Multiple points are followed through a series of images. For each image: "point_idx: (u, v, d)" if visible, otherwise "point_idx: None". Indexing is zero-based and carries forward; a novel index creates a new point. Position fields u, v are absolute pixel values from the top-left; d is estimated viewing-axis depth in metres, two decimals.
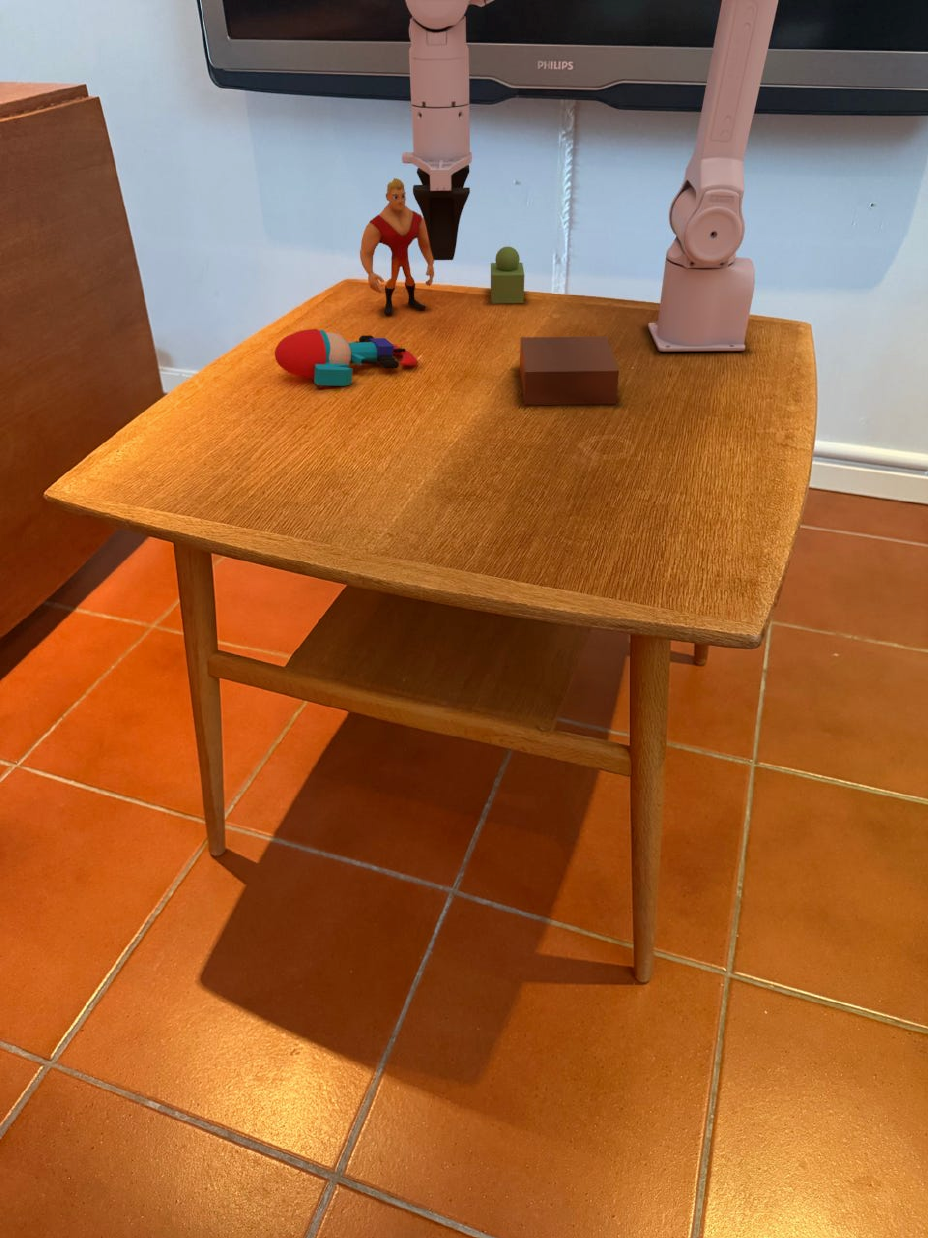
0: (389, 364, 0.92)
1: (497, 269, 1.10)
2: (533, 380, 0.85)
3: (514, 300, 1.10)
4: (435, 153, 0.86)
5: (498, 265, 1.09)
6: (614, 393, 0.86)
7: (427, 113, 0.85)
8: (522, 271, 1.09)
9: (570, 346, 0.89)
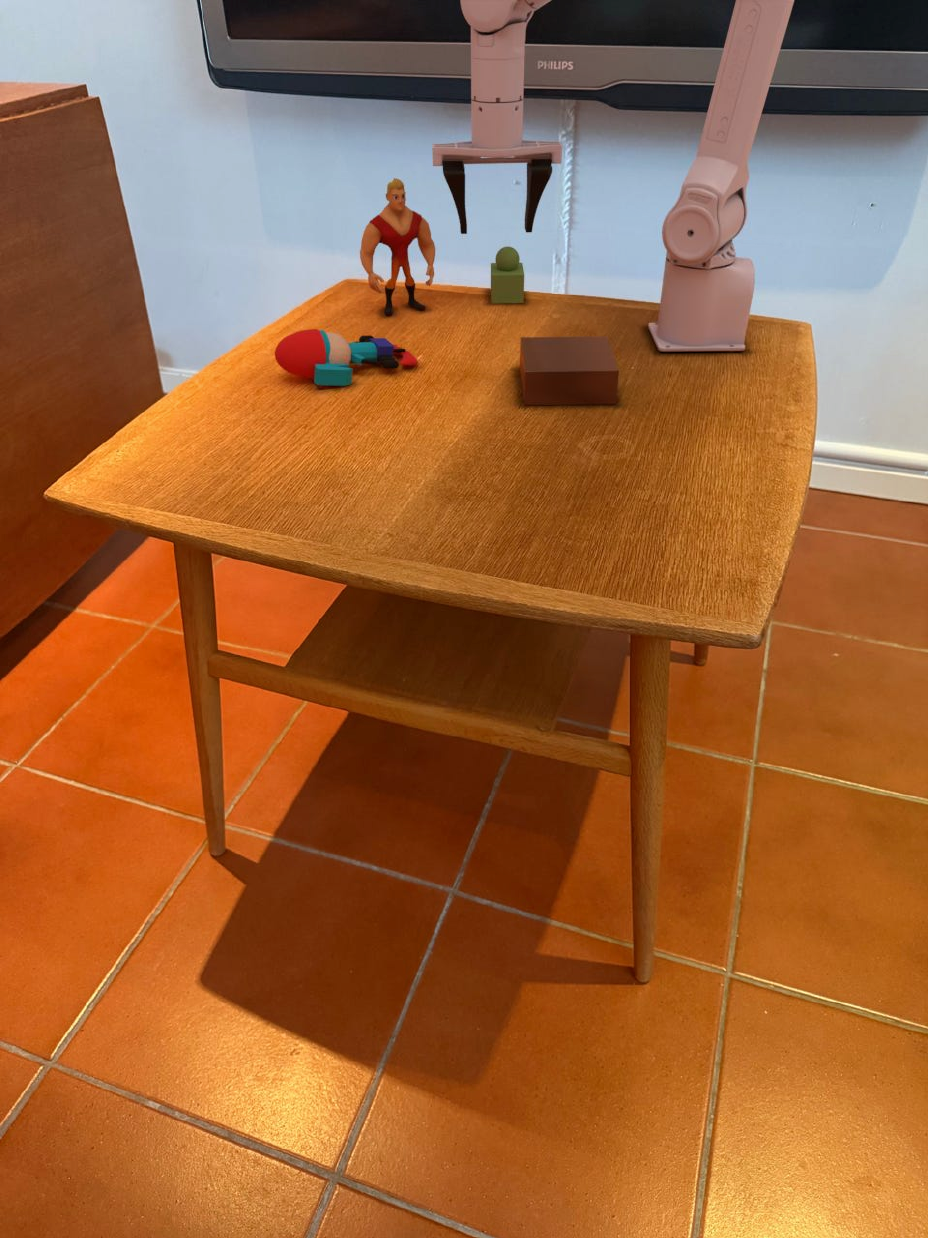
0: (389, 364, 0.92)
1: (497, 269, 1.10)
2: (533, 380, 0.85)
3: (514, 300, 1.10)
4: None
5: (498, 265, 1.09)
6: (614, 393, 0.86)
7: None
8: (522, 271, 1.09)
9: (570, 346, 0.89)
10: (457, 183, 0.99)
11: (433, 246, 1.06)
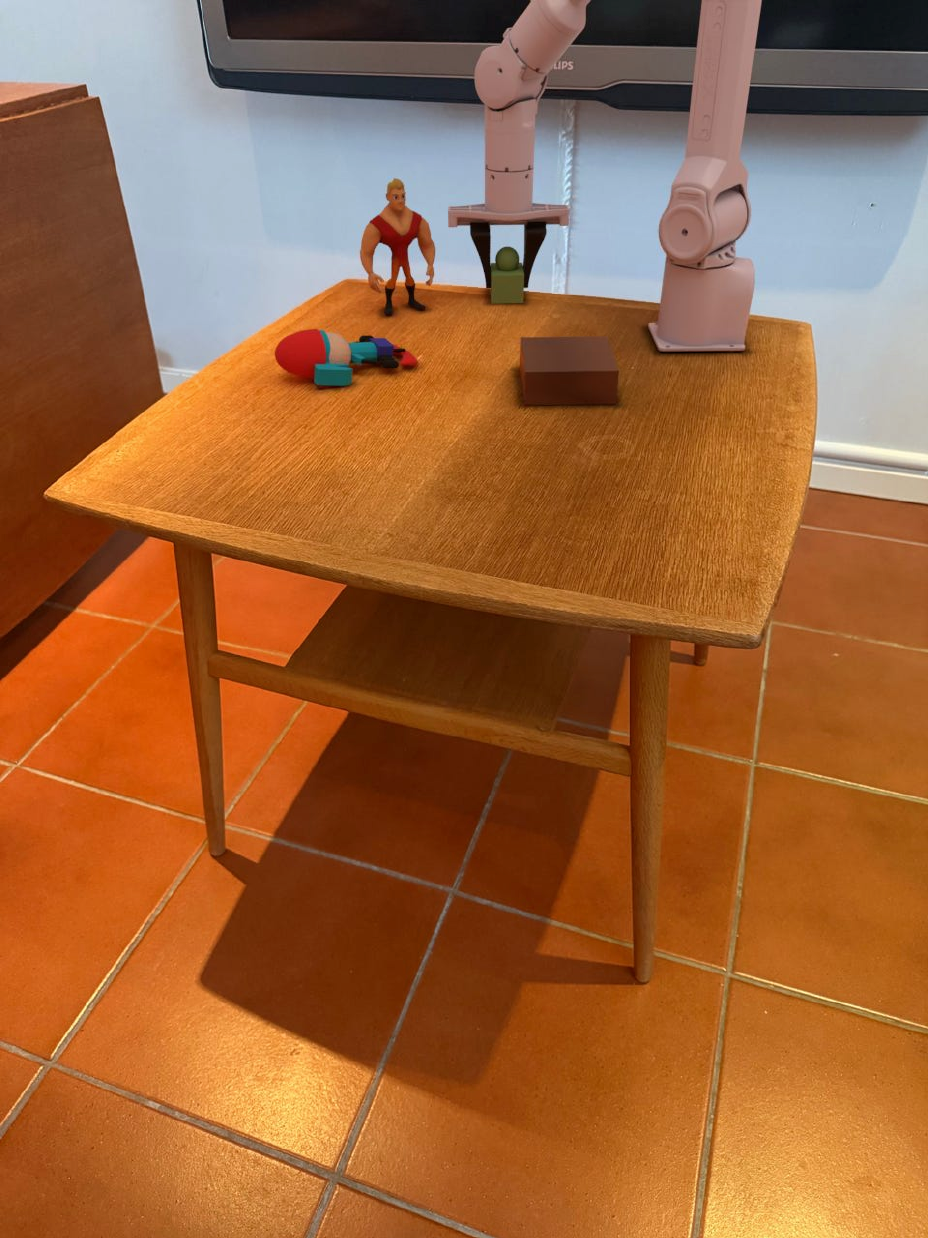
0: (389, 364, 0.92)
1: (497, 269, 1.10)
2: (533, 380, 0.85)
3: (514, 300, 1.10)
4: None
5: (498, 265, 1.09)
6: (614, 393, 0.86)
7: None
8: (522, 271, 1.09)
9: (570, 346, 0.89)
10: (483, 243, 1.06)
11: (433, 246, 1.06)
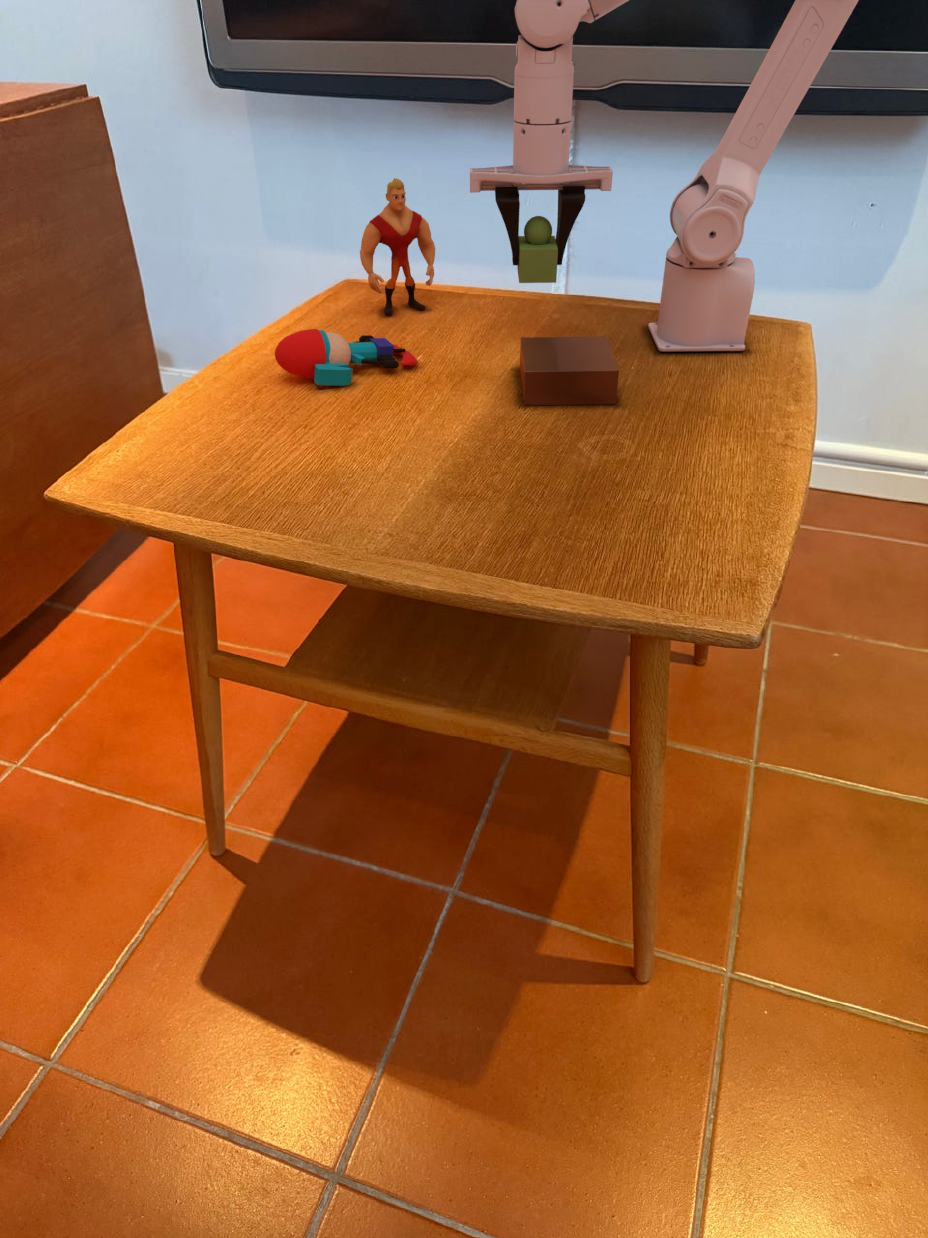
0: (389, 364, 0.92)
1: (526, 243, 0.94)
2: (533, 380, 0.85)
3: (545, 279, 0.94)
4: None
5: (527, 238, 0.93)
6: (614, 393, 0.86)
7: None
8: (555, 245, 0.93)
9: (570, 346, 0.89)
10: (511, 211, 0.90)
11: (433, 246, 1.06)
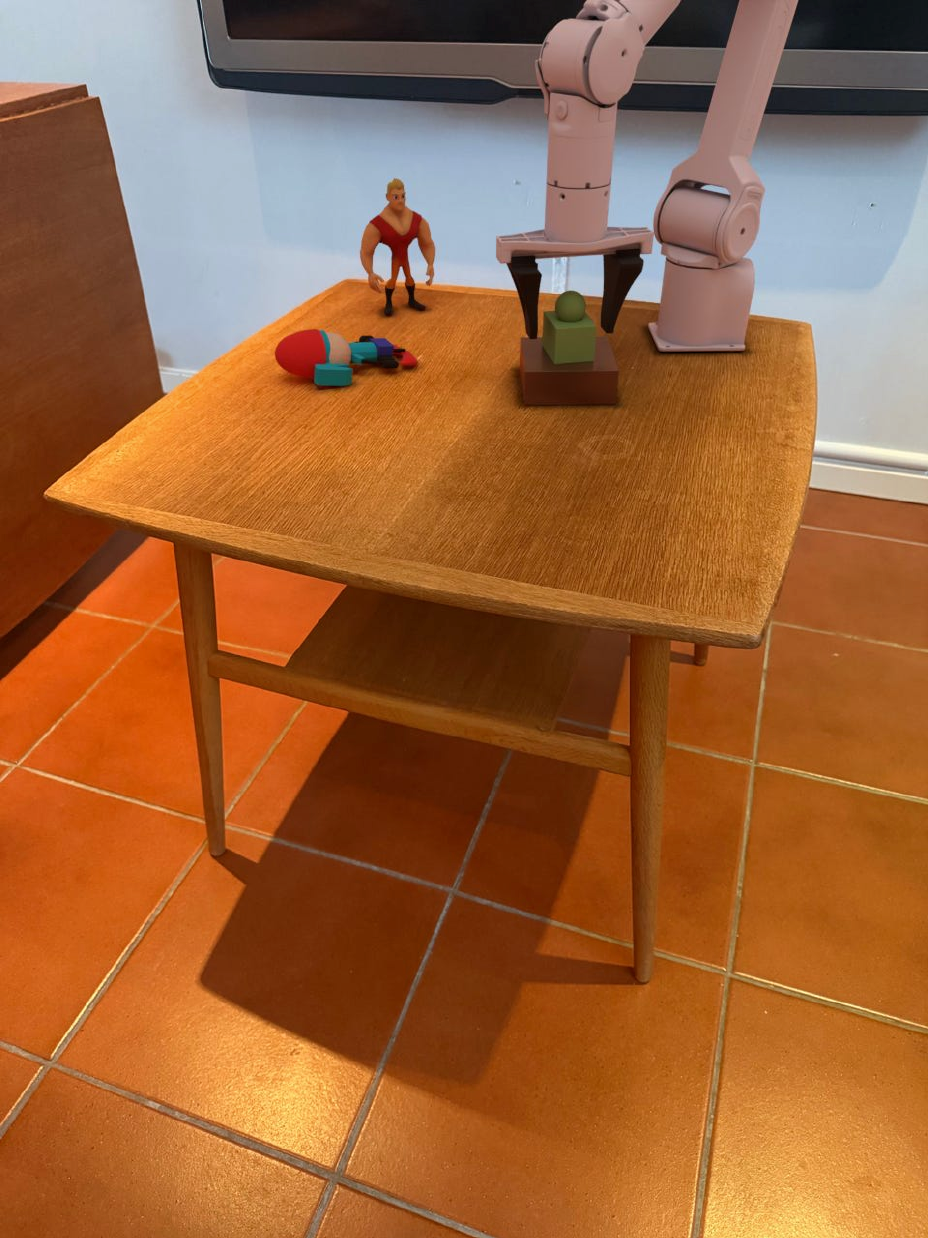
0: (389, 364, 0.92)
1: (558, 320, 0.85)
2: (533, 380, 0.85)
3: (582, 358, 0.86)
4: None
5: (560, 315, 0.85)
6: (614, 393, 0.86)
7: None
8: (591, 321, 0.85)
9: None
10: (531, 283, 0.81)
11: (433, 246, 1.06)
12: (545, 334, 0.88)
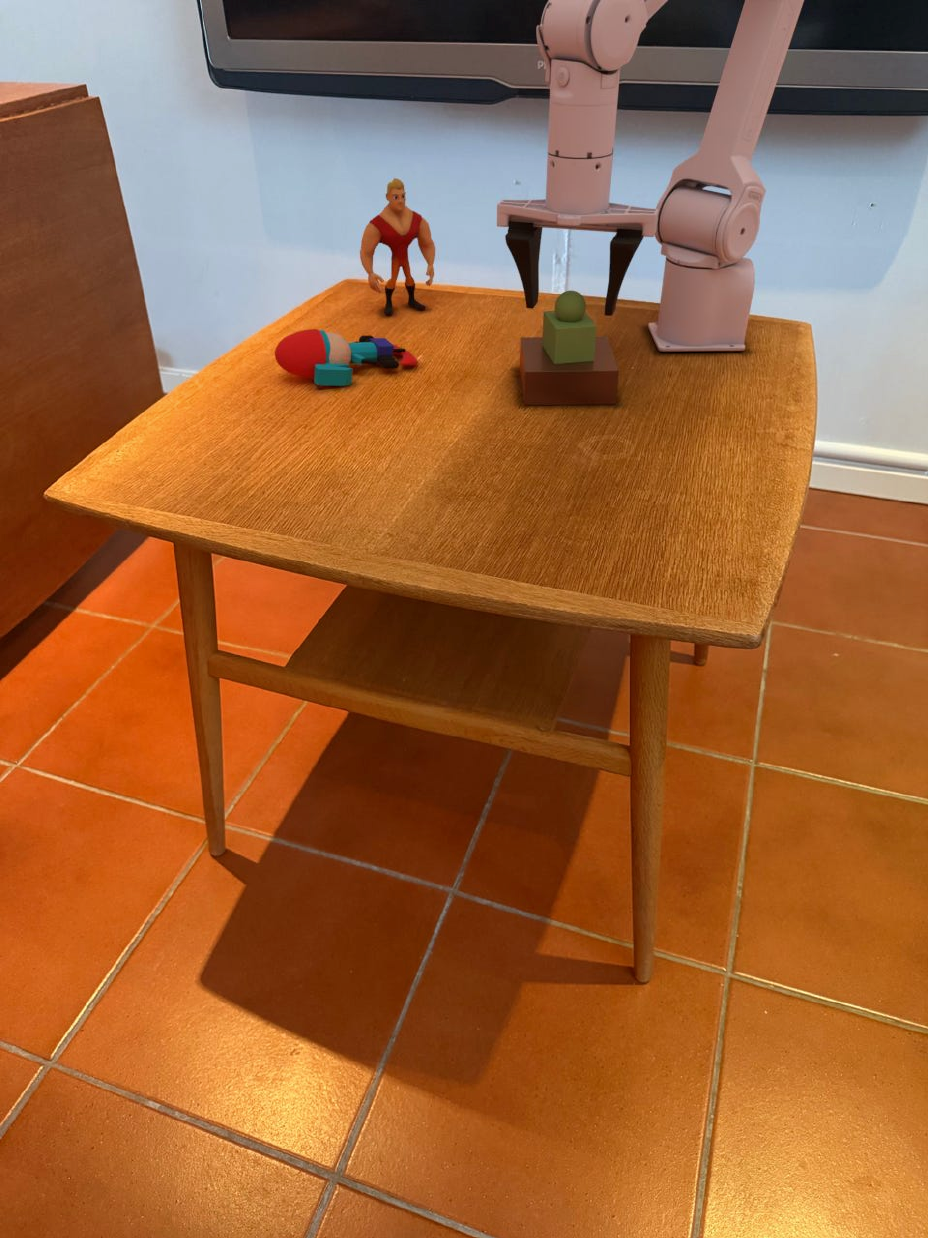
0: (389, 364, 0.92)
1: (558, 320, 0.85)
2: (533, 380, 0.85)
3: (582, 358, 0.86)
4: (607, 203, 0.78)
5: (560, 315, 0.85)
6: (614, 393, 0.86)
7: (606, 162, 0.76)
8: (591, 321, 0.85)
9: None
10: None
11: (433, 246, 1.06)
12: (545, 334, 0.88)
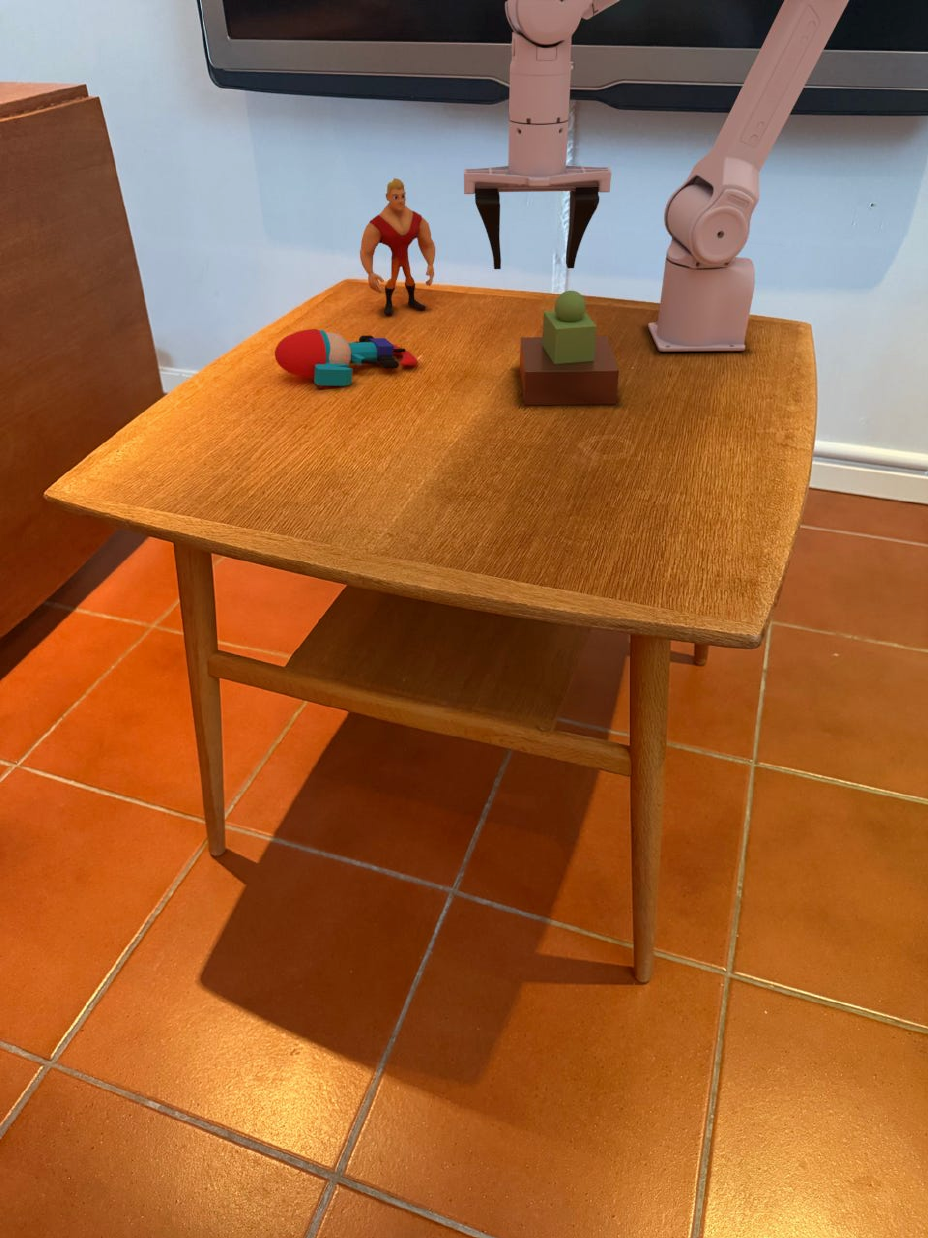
0: (389, 364, 0.92)
1: (558, 320, 0.85)
2: (533, 380, 0.85)
3: (582, 358, 0.86)
4: (566, 165, 0.86)
5: (560, 315, 0.85)
6: (614, 393, 0.86)
7: (566, 126, 0.84)
8: (591, 321, 0.85)
9: None
10: None
11: (433, 246, 1.06)
12: (545, 334, 0.88)
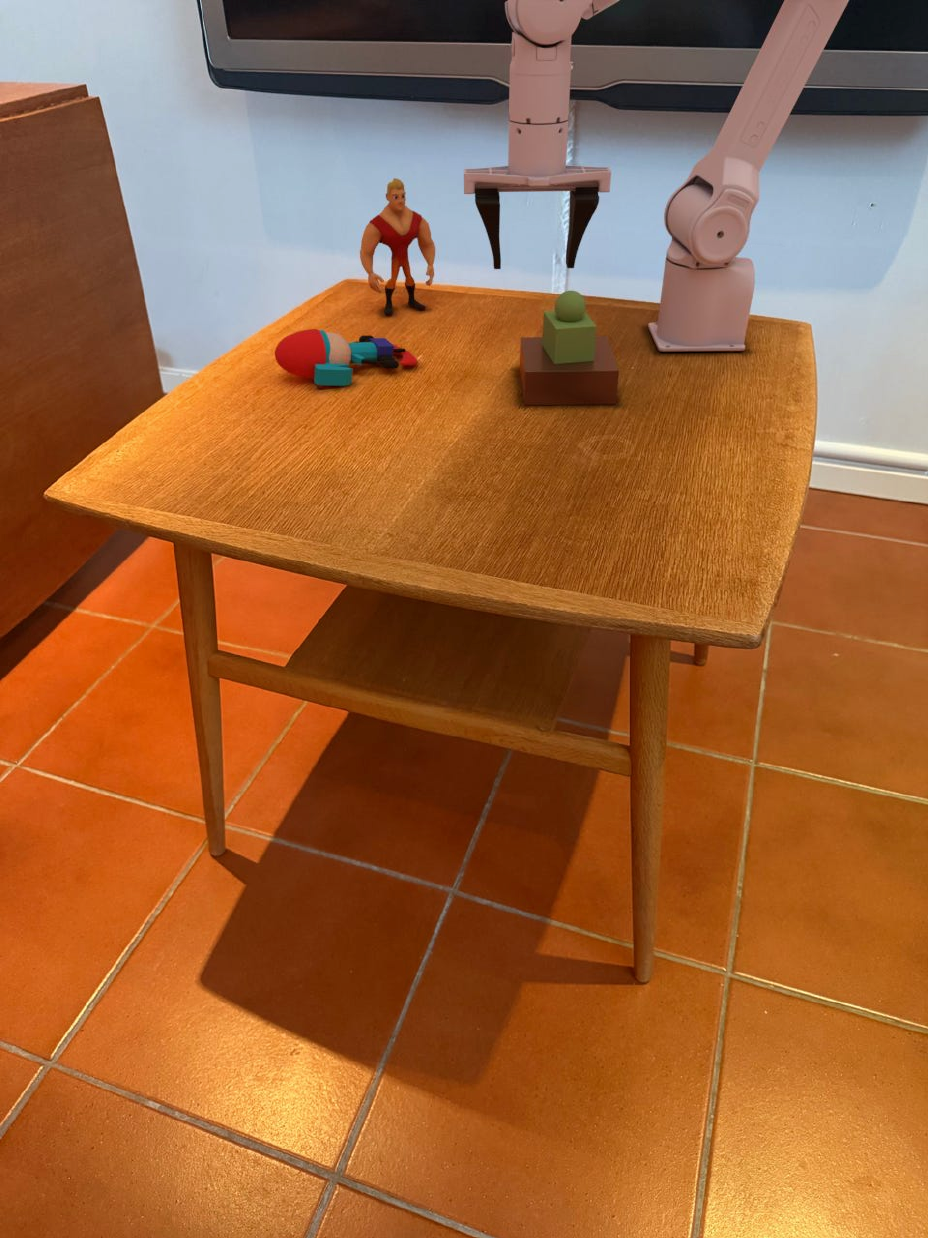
0: (389, 364, 0.92)
1: (558, 320, 0.85)
2: (533, 380, 0.85)
3: (582, 358, 0.86)
4: (565, 164, 0.86)
5: (560, 315, 0.85)
6: (614, 393, 0.86)
7: (566, 126, 0.84)
8: (591, 321, 0.85)
9: None
10: None
11: (433, 246, 1.06)
12: (545, 334, 0.88)
